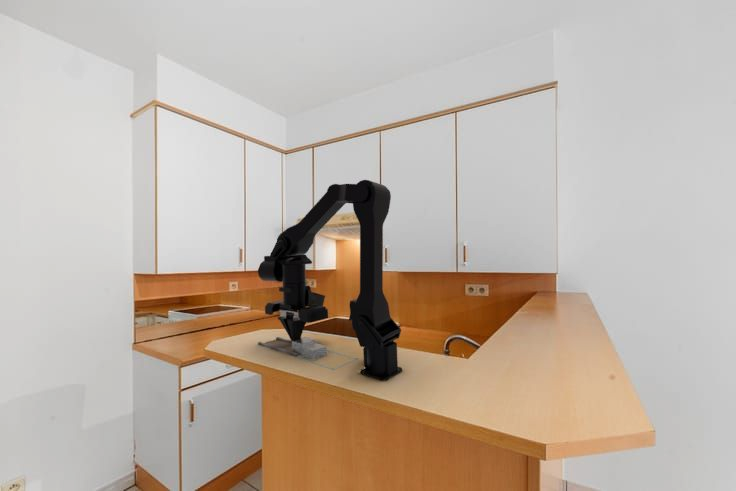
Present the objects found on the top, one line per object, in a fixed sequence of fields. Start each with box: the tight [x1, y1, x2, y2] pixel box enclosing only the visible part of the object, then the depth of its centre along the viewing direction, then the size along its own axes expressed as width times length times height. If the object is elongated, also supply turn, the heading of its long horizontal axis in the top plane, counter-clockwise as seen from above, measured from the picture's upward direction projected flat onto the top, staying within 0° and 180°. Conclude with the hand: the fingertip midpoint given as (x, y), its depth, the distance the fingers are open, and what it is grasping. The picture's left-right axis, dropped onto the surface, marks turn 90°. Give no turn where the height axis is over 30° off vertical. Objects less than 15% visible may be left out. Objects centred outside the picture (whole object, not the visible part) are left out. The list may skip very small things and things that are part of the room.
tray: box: [295, 350, 359, 370], centre depth 71 cm, size 13×8×1 cm, turn 50°
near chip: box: [301, 342, 328, 361], centre depth 72 cm, size 4×4×3 cm
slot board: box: [257, 336, 300, 358], centre depth 80 cm, size 17×6×2 cm, turn 50°
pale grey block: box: [292, 336, 316, 357], centre depth 75 cm, size 4×4×3 cm
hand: (296, 344), depth 77 cm, fingers closed
